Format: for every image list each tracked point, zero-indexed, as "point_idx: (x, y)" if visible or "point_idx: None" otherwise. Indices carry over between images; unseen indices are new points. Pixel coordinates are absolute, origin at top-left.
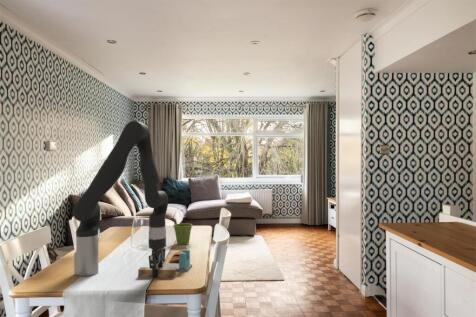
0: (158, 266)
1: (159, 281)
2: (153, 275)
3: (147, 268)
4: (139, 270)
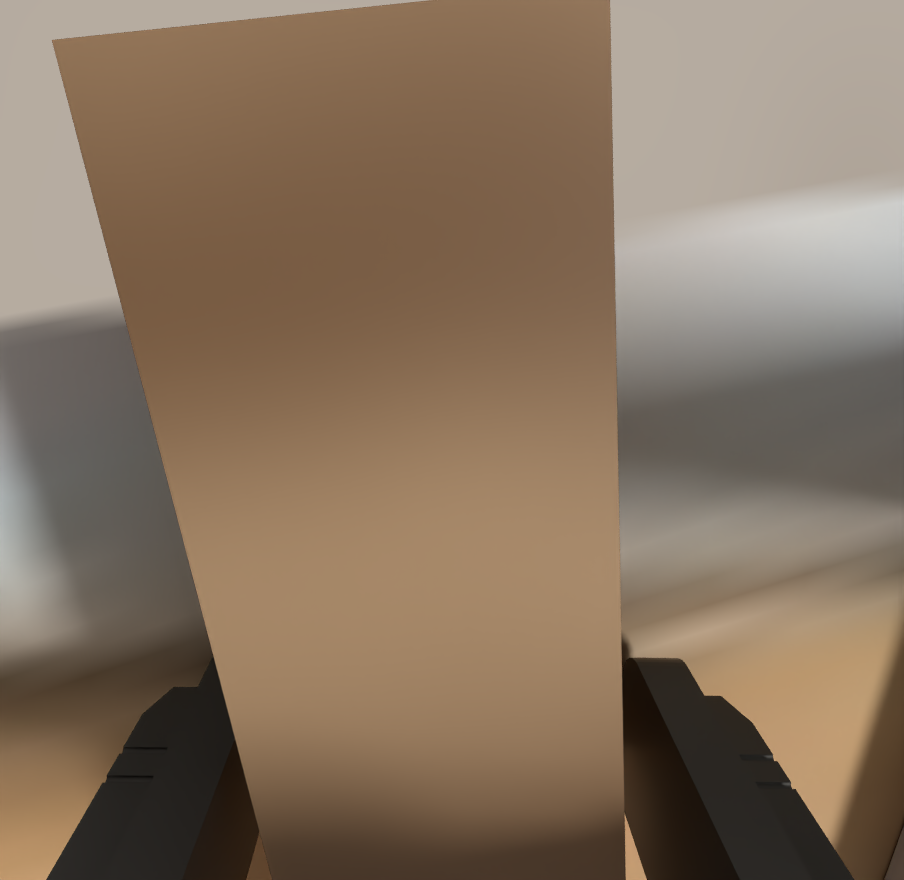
0: (704, 874)
1: (42, 853)
2: (146, 740)
3: (410, 511)
4: (101, 138)
